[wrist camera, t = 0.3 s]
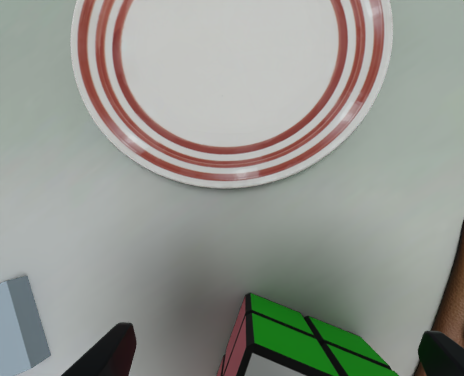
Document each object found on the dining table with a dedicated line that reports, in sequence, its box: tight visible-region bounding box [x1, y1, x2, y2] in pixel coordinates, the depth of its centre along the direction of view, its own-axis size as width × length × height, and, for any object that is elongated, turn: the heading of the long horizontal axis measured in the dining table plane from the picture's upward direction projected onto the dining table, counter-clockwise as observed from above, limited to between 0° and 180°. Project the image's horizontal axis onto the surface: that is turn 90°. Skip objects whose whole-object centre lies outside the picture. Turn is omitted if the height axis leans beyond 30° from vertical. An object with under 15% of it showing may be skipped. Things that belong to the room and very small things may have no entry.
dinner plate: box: [71, 0, 393, 189], centre depth 24 cm, size 28×27×3 cm
